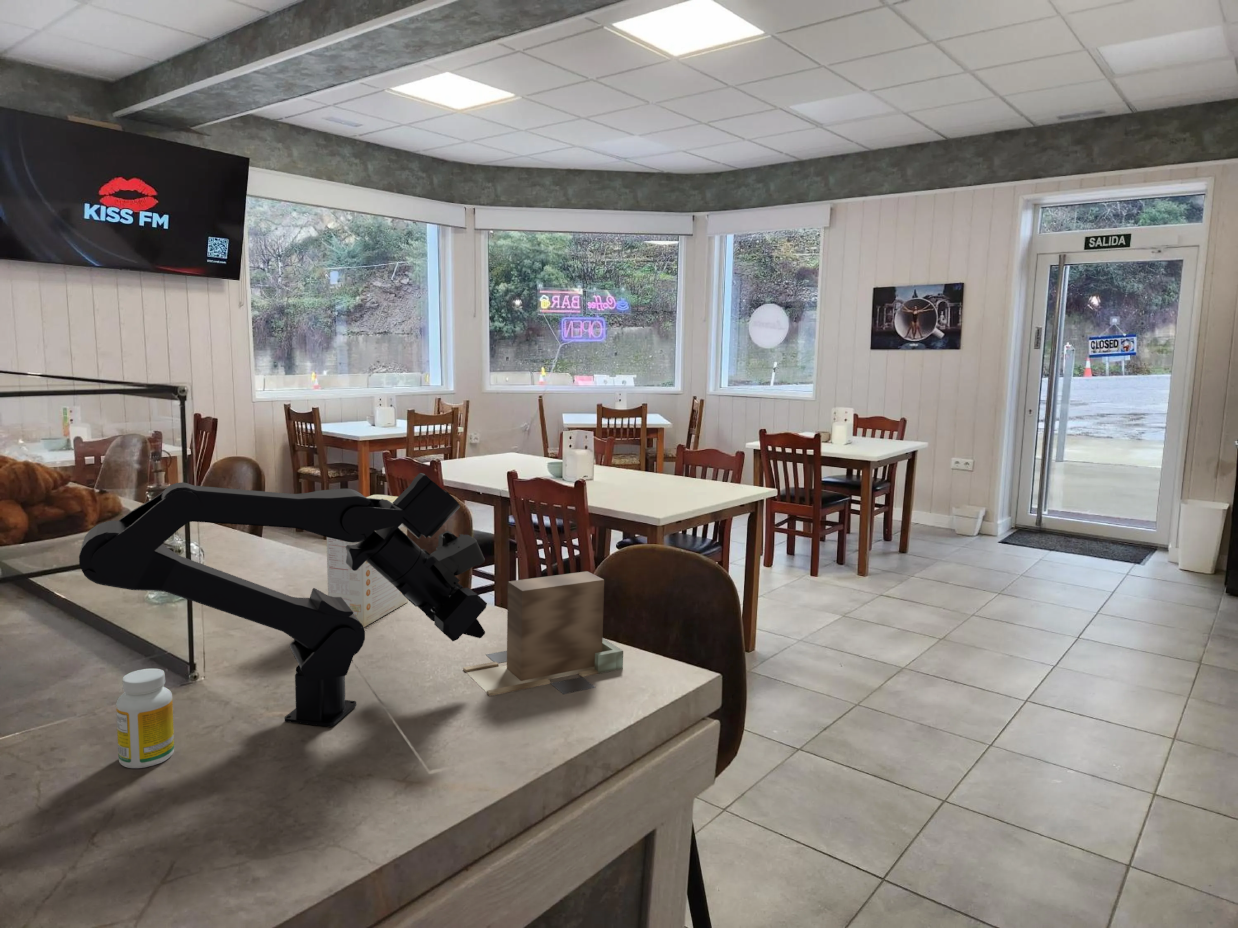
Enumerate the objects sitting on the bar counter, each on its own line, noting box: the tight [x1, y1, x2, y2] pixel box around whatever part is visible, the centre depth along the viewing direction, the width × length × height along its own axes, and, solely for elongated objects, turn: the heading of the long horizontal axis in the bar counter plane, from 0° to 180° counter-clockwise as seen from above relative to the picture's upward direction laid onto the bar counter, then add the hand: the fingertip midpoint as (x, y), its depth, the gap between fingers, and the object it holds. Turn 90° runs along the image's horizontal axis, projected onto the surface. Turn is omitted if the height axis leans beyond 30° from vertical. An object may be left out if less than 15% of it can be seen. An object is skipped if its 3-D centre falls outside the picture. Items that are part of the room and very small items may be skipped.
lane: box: [462, 637, 624, 697], centre depth 117 cm, size 21×18×3 cm
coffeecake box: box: [326, 494, 409, 629], centre depth 139 cm, size 15×7×20 cm, turn 165°
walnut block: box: [506, 570, 605, 681], centre depth 118 cm, size 13×5×13 cm, turn 121°
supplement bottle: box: [115, 668, 175, 769], centre depth 89 cm, size 5×5×10 cm
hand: (482, 634), depth 112 cm, fingers closed
